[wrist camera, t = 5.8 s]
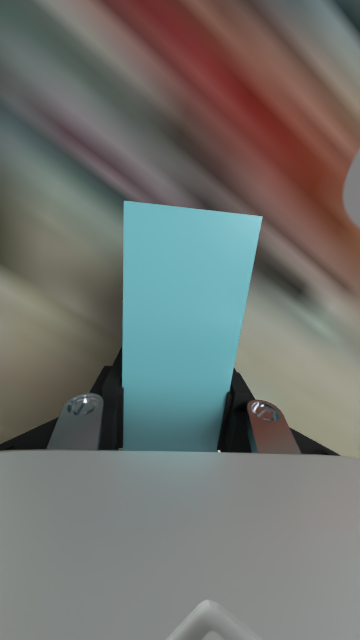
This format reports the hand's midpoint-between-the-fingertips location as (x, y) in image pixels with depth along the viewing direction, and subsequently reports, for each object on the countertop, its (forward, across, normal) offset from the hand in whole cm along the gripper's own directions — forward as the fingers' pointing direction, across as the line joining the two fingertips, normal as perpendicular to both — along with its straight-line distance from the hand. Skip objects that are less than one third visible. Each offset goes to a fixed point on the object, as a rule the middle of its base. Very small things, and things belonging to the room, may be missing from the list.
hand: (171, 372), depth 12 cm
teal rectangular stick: (+1, 0, 0) cm, 1 cm away
